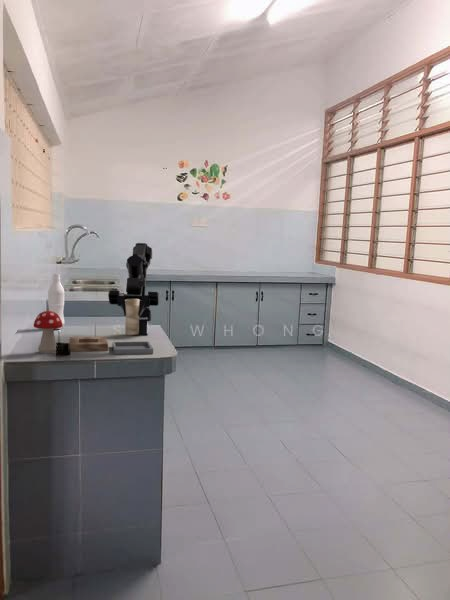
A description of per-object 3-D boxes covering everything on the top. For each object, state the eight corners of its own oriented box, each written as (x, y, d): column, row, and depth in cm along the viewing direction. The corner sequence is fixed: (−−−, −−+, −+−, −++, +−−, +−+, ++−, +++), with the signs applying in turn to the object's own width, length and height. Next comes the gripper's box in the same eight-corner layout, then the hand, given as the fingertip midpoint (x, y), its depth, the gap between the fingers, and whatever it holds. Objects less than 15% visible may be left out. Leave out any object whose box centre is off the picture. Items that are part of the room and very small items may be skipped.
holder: (106, 343, 200) (106, 337, 199) (107, 350, 186) (107, 344, 186) (69, 343, 196) (69, 337, 196) (68, 351, 183) (68, 344, 182)
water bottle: (67, 328, 228) (68, 274, 226) (56, 330, 222) (56, 274, 219) (55, 327, 231) (56, 273, 229) (44, 329, 225) (44, 273, 222)
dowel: (133, 332, 192) (134, 298, 190) (141, 334, 188) (142, 299, 187) (122, 333, 188) (123, 299, 187) (130, 335, 184) (130, 300, 183)
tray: (148, 346, 197) (148, 341, 197) (153, 353, 184) (153, 348, 184) (112, 346, 194) (112, 341, 193) (114, 354, 180) (114, 349, 180)
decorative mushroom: (64, 349, 185) (64, 309, 183) (60, 354, 176) (60, 312, 175) (36, 349, 183) (36, 309, 182) (30, 354, 175) (30, 312, 173)
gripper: (109, 269, 188) (104, 301, 179) (159, 270, 190) (156, 303, 180) (111, 287, 197) (107, 319, 187) (159, 289, 199) (157, 321, 189)
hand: (132, 315), depth 186 cm, fingers closed on dowel, 5 cm apart
